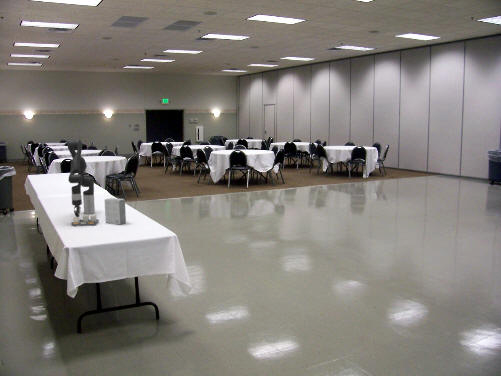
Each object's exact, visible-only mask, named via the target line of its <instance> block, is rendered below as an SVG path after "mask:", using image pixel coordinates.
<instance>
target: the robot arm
mask: <svg viewBox="0 0 501 376" xmlns="http://www.w3.org/2000/svg"><path fill="white" fill-rule="evenodd" d="M66 146H67V149H68V151H69V153H70V156H71V158H72V160H71V162H70V172H69V175H68V183H70V184H76V185H73V186H71V205H72V206H74V207H73V209H74V210H73V213H74V216H75V217H79V218H80V214H81V209H82V208H81V205H82V204H83V215H95V213H96V212H95V211H96V208H95V178H94V177H93V176H85V175H84V173H85V172H86V169H87V167H88V166H87V162H86V160H85V158H84V157H83V156H82V151H83V142H82V140H81V139H80V138H76V139H74V138H73V139H68V140H67V141H66ZM82 187H83V188H88V189H87V190H83V191H82V190H81V188H82ZM82 197H83V198H82ZM82 199H83V200H82Z"/></svg>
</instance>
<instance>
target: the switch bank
mask: <svg viewBox="0 0 501 376" xmlns="http://www.w3.org/2000/svg"><path fill="white" fill-rule="evenodd" d="M99 222H100V219H99V218H97V220H96V221H95V222H91V220H90V218H89V221H88V222H83V219H80V222H73V221H72V222H71V223H70V224H71V227H88V226H89V227H90V226H97V225H98V224H99Z"/></svg>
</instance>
